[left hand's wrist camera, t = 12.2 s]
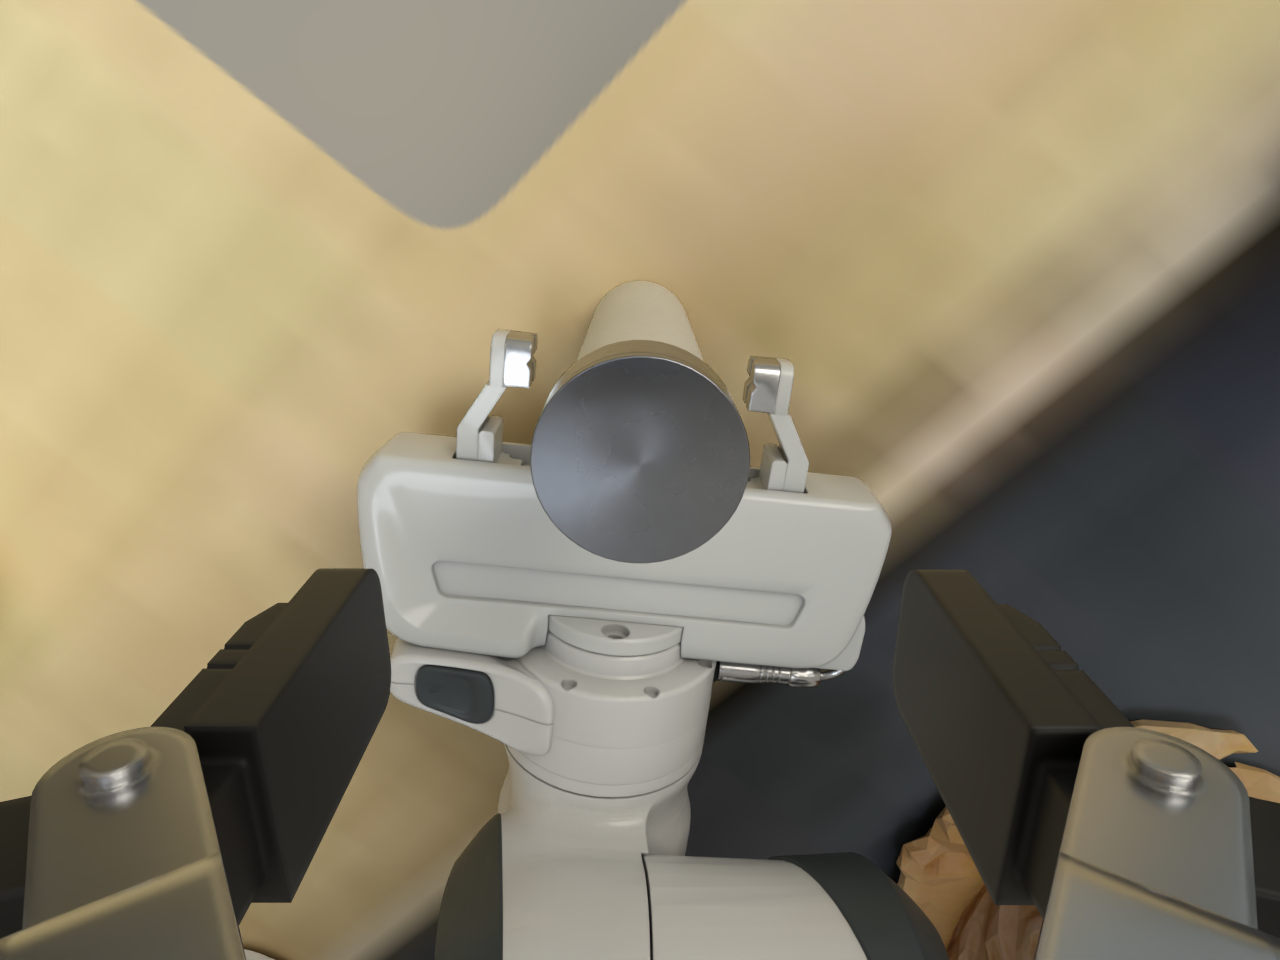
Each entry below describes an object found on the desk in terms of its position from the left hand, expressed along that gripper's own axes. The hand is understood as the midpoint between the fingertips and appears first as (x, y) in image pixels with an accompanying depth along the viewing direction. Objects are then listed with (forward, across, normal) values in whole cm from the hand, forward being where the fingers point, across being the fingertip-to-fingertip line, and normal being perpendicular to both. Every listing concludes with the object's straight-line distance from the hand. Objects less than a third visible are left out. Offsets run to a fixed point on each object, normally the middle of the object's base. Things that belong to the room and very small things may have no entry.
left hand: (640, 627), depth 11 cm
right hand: (+19, 0, 0) cm, 19 cm away
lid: (+7, 0, 0) cm, 7 cm away
